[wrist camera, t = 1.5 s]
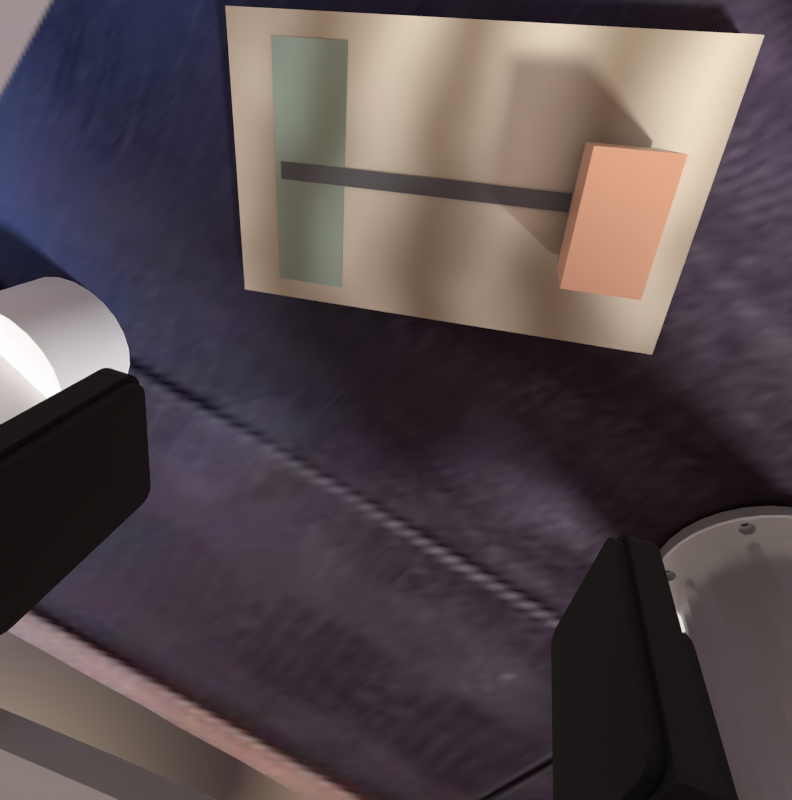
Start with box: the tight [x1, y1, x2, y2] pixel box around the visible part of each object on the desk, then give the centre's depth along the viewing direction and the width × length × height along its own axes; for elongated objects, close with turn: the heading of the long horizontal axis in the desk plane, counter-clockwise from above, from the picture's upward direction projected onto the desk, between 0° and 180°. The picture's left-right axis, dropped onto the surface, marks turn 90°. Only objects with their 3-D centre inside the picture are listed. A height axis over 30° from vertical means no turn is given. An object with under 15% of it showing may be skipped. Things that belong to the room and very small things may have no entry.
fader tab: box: [557, 141, 688, 300], centre depth 21 cm, size 3×5×5 cm, turn 176°
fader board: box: [225, 6, 764, 355], centre depth 25 cm, size 22×13×2 cm, turn 86°
